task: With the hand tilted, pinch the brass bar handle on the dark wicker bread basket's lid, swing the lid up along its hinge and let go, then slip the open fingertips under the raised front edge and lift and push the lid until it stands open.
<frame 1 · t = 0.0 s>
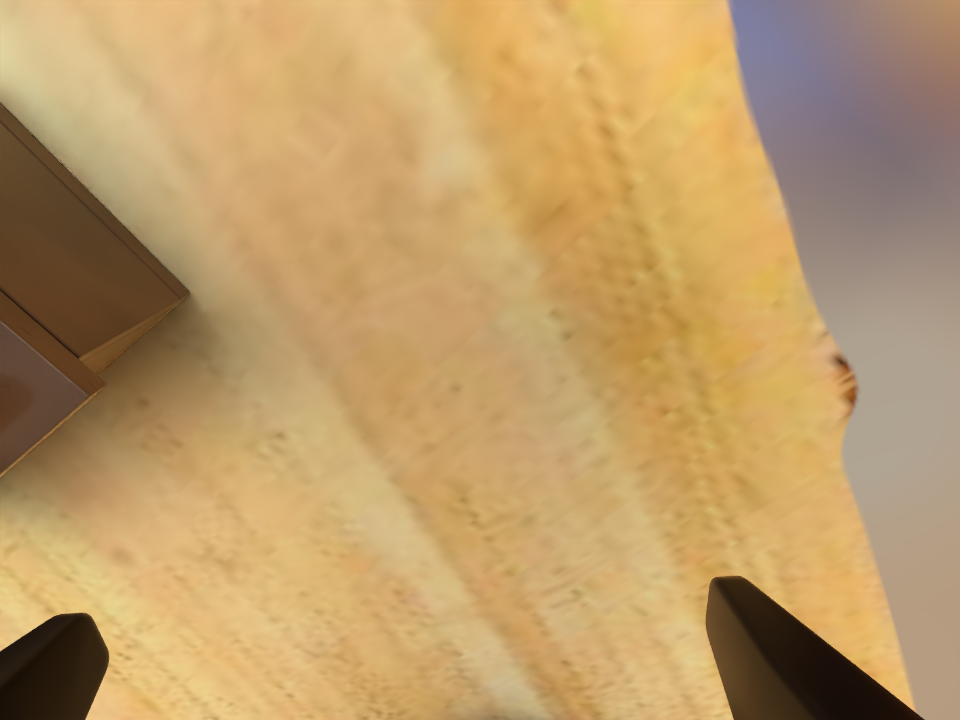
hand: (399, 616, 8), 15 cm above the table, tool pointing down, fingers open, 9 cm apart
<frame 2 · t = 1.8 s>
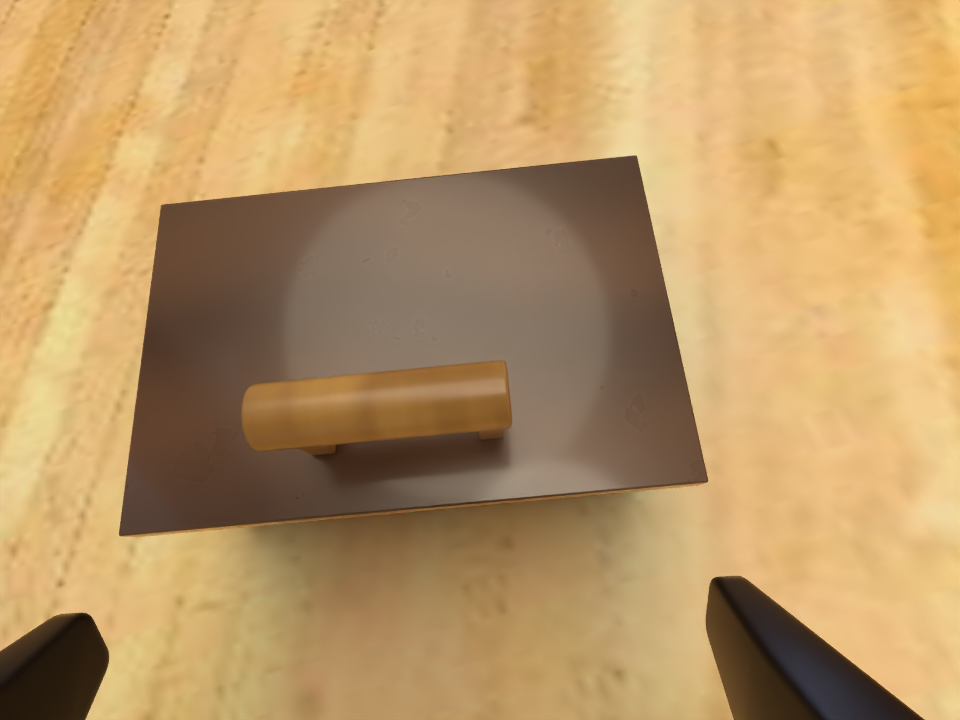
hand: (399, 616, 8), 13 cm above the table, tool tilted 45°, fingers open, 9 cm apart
basket lid: (391, 304, 15), point 9 cm above the table, hinge at 0.0°
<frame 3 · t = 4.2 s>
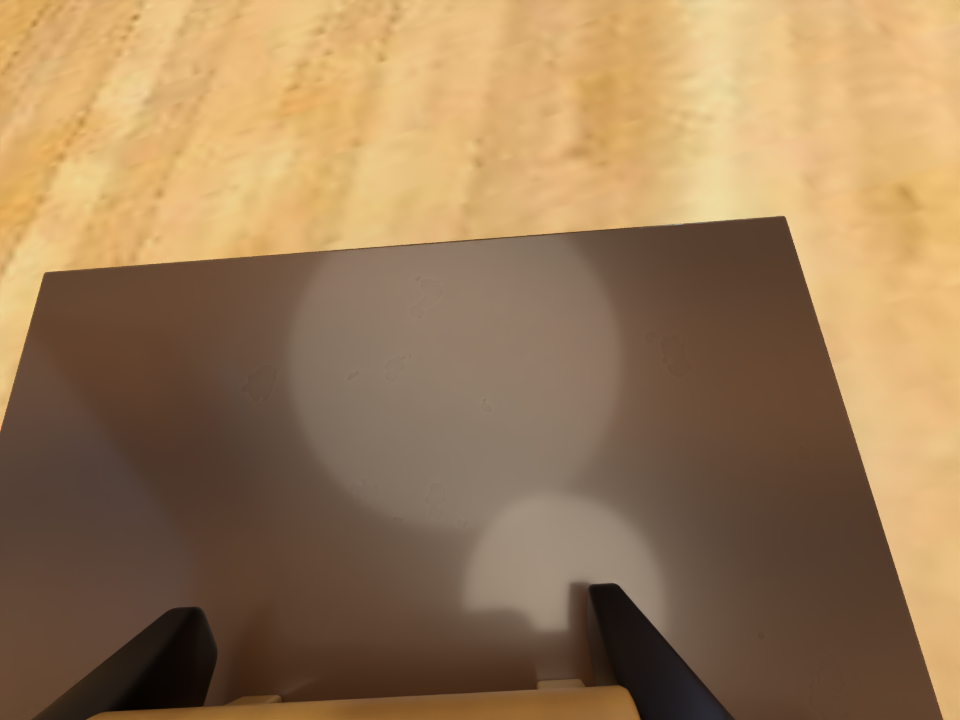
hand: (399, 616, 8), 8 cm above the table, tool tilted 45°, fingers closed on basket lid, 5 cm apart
basket lid: (390, 484, 8), point 9 cm above the table, hinge at 0.0°, touching gripper
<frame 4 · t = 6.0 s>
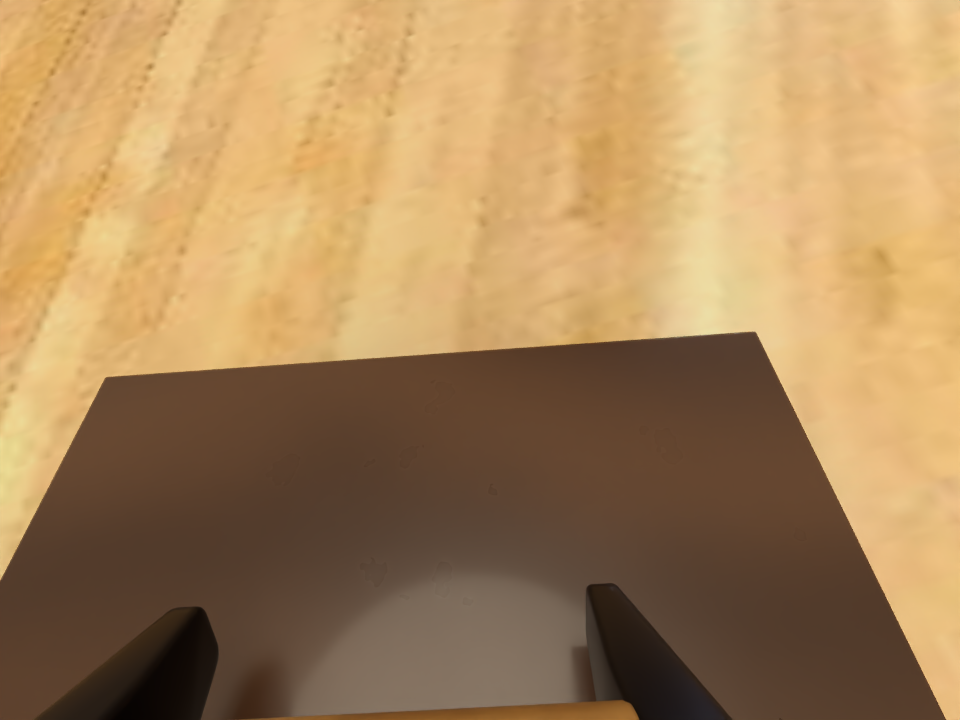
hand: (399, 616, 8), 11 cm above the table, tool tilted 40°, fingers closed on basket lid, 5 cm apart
basket lid: (399, 542, 8), point 11 cm above the table, hinge at 20.9°, touching gripper
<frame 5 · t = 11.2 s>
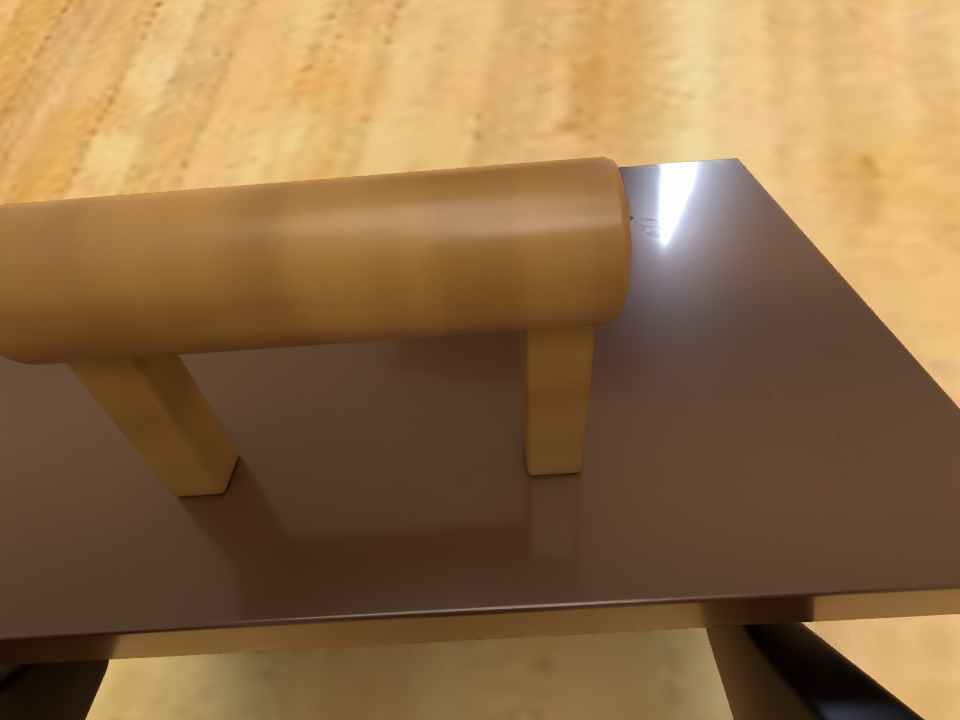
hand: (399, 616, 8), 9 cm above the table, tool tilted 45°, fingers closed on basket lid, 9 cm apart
basket lid: (381, 237, 9), point 11 cm above the table, hinge at 25.3°, touching gripper
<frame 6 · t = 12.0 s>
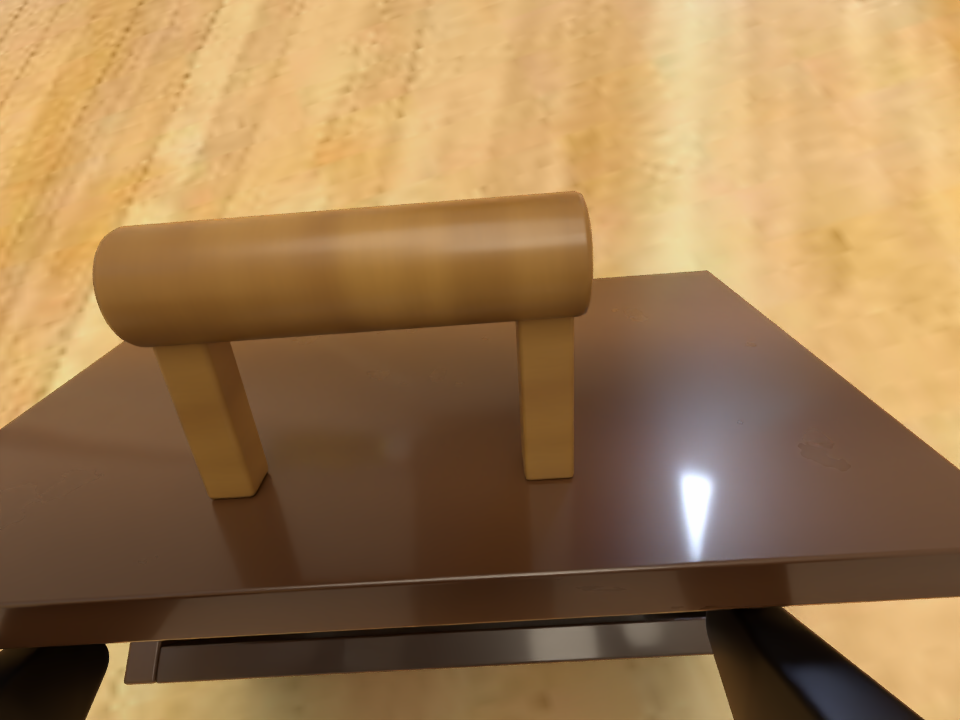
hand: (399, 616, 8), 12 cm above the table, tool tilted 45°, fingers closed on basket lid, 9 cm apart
basket lid: (404, 302, 10), point 12 cm above the table, hinge at 42.1°, touching gripper
basket: (461, 499, 20), on the table
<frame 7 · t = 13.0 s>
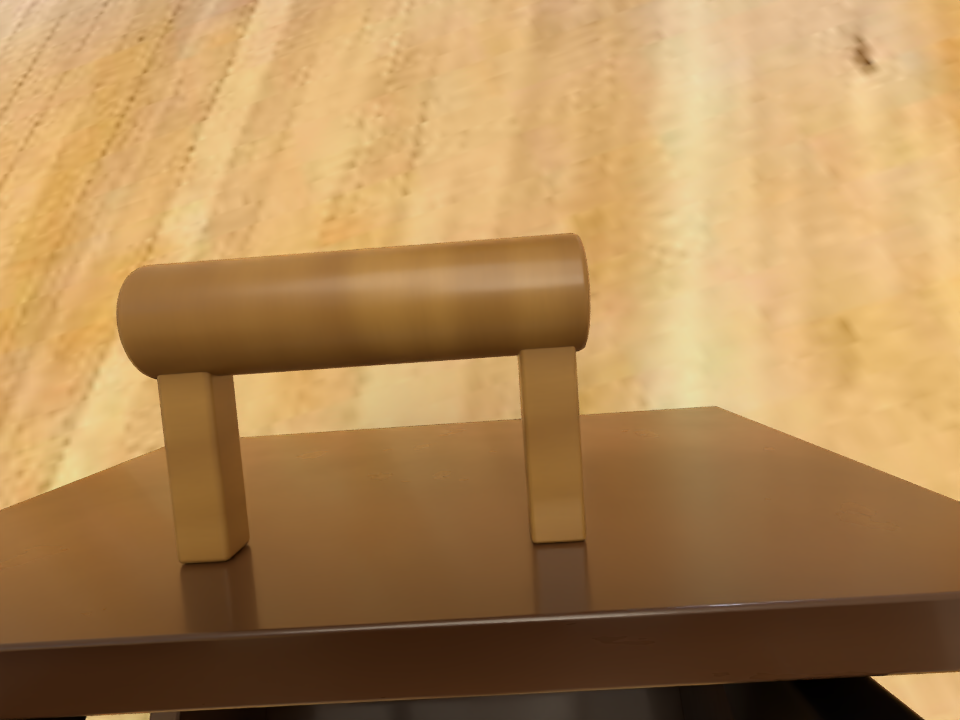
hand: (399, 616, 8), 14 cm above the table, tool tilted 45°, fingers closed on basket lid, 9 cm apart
basket lid: (411, 395, 10), point 12 cm above the table, hinge at 63.9°, touching gripper
basket: (468, 605, 20), on the table
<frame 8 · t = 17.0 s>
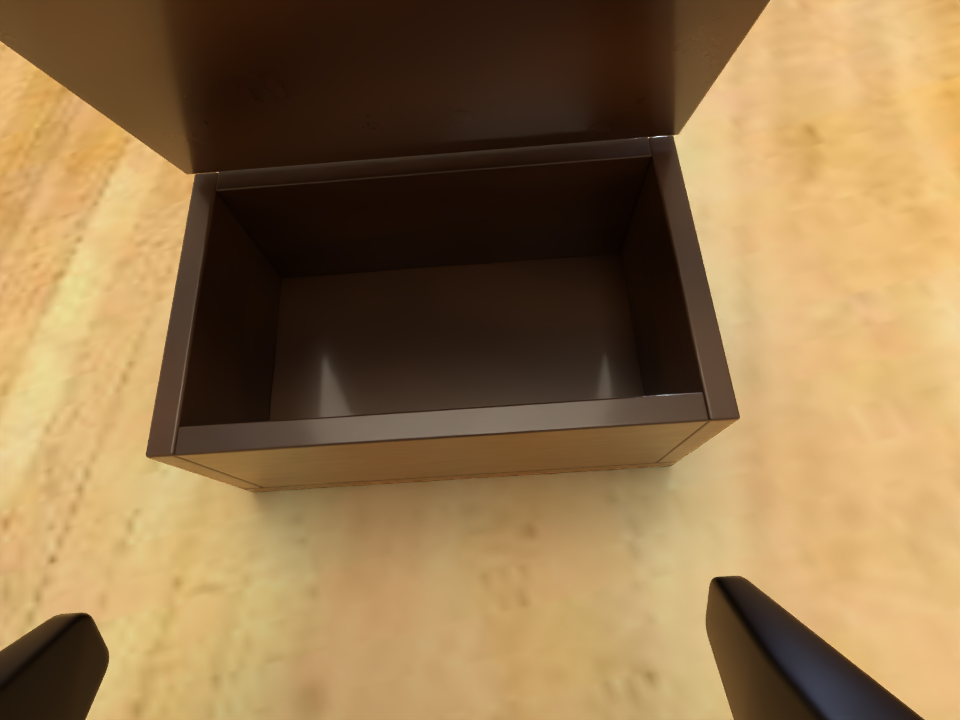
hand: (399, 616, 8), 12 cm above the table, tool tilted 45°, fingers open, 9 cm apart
basket: (454, 360, 22), on the table
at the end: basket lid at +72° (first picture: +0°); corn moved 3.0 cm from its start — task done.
